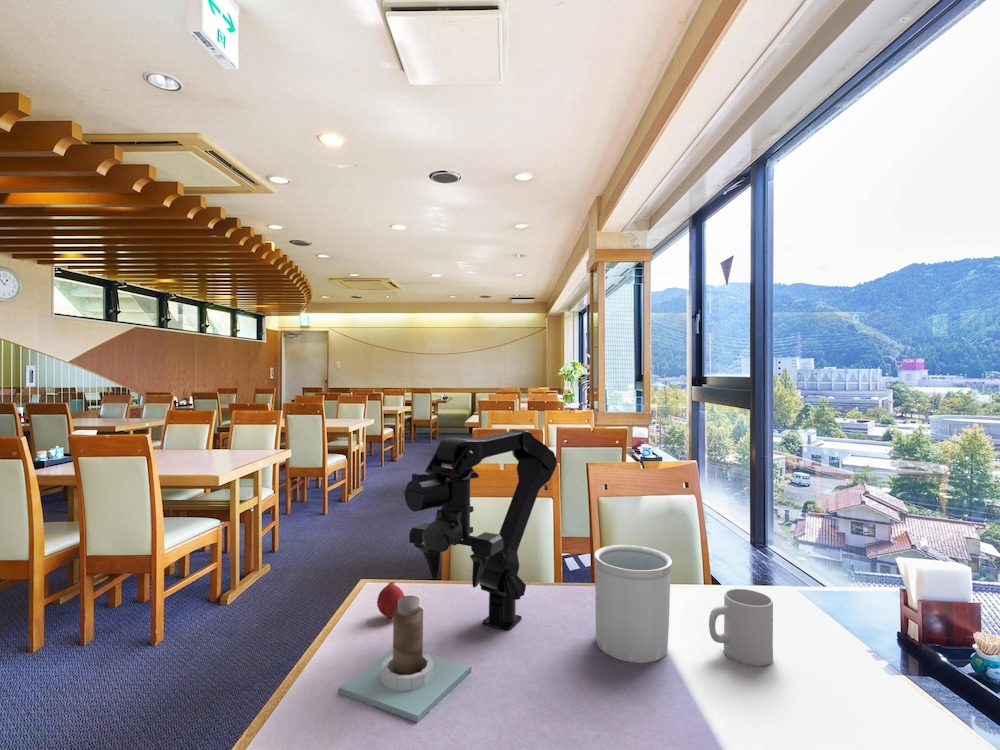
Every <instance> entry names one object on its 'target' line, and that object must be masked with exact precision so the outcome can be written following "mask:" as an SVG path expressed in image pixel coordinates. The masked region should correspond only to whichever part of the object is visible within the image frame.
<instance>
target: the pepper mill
mask: <svg viewBox="0 0 1000 750" xmlns="http://www.w3.org/2000/svg"><path fill="white" fill-rule="evenodd" d="M392 619H393V623H392V624H393V625H392V626H393V628H392V643H393V644H392V649H393V673H395V674H398V675H412V674H415V673H418V672H421V671H422V664H423V652H424V651H423V649H424V646H423V645H424V642H423V641H424V609H423V608H422V607H420V598H419V597H418V596H417V595H415V596H414V595H404V597H401V598H399V599H398V608H397V609H395V610H394V615H393V618H392Z"/></svg>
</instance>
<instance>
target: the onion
mask: <svg viewBox="0 0 1000 750" xmlns="http://www.w3.org/2000/svg"><path fill="white" fill-rule="evenodd" d="M395 583H396V582H395V581H394V580H393V579H391V580H390V581H388V584H387V585H386V586H385V587H383V588H382V589H381V590H380V592H379V594H378V596H377V601H376V604H377V605H376V606H377V609H378V610H379V612H380V613H381V614H382V615H383V616H384V617H386V618H388V619H393V615H394V610H395V609H397V608H398V599H399V598H401V597H404V596H405V593H404V591H403V590H402V589H401V588H400V587H399V586H397V585H396V584H395Z"/></svg>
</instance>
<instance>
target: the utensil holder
mask: <svg viewBox="0 0 1000 750" xmlns="http://www.w3.org/2000/svg"><path fill="white" fill-rule="evenodd" d="M593 554H594V555H593V560H594V561H593V562H594V564H595V573H594V574H595V590H594V591H595V639H596V640H595V641H596V644H597V647H598V648H599V649H600V650H601V651H602V652H603V653H604V654H606V655H608V656H610V657H612V658H615V659H617V660H619V661H623V662H627V663H635V664H636V663H637V664H638V663H639V664H645V663H647V664H648V663H653V662H657V661H658V660H661V659H663V658H664V657H665V656H666V655H667V653H668V646H669V645H668V644H669V631H670V630H669V629H670V607H671V606H670V604H671V601H670V600H671V571H672V570H673V569H672V568H673V560H672V558H671V557H670V556H669V555H667V554H666V553H665V552H662V551H660V550H657V549H654V548H651V547H647V546H642V545H641V546H640V545H632V544H614V545H608V546H603V547H600V548H598V549H596V550H595V552H594V553H593Z"/></svg>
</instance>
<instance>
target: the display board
mask: <svg viewBox="0 0 1000 750" xmlns="http://www.w3.org/2000/svg"><path fill="white" fill-rule="evenodd" d="M470 673H472V665H470V664H466V663H463V662H459V661H456V660H454V659H453V660H452V659H449V658H445V657H442V656H439V655H435V654H432V653H429V652H426V651H423V664H422V671H421V672H418V673H415V674H412V675H398V674H395V673H393V648H392V649H391V650H389V651H388V652H387V653H384V655H382V656H380V657H379V658H378V659H376V660H375V661H374V662H372V663H371V664H369V665H368V666H367V667H365V668H363V669H362V670H361V671H359V672H358V673H356V674H355V675H354V676H352V677H351V678H349V679H348V680H346V681H345V682H343V683H342V684H341V685H339V686H338V687H337V688H338V694H340V695H342V696H344V697H348V698H350V699H354V700H355V701H356V700H357V701H359V702H362V703H365V704H367V705H369V706H373V707H375V708H377V709H381V710H383V711H386V712H389V713H391V714H393V715H397V716H399V717H402V718H404V719H407V720H410V721H413V722H416V723H419V722H420V721H421V720H422V719H423V718H424V717H425V716H426V715H427V714H428V713H430V712H431V711H432V710H433V709H434V708H435V707H436V706H437V704H439V703H440V702H441V701H442V700H443V699H445V698H446V696H448V694H450V693H451V691H453V689H454V688H455V687H457V686H458V685H459V684H460V683H461V682H462V681H463V680H464V679H465V678H466V677H468V675H469V674H470Z"/></svg>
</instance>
